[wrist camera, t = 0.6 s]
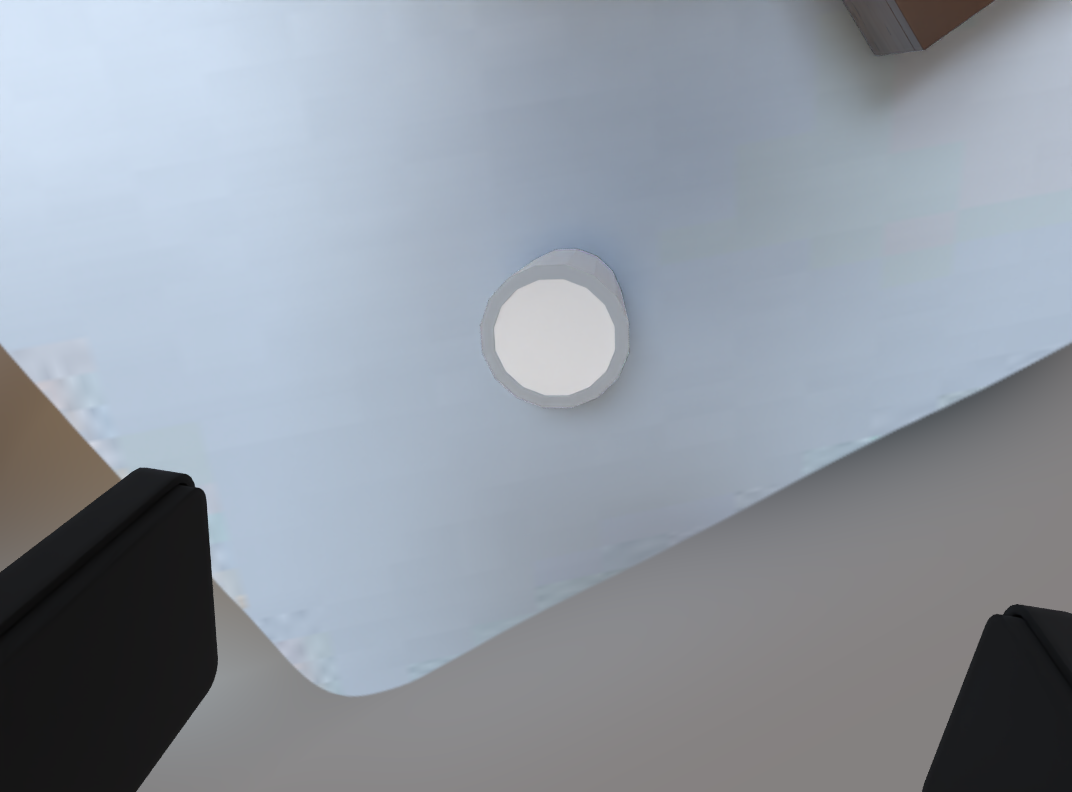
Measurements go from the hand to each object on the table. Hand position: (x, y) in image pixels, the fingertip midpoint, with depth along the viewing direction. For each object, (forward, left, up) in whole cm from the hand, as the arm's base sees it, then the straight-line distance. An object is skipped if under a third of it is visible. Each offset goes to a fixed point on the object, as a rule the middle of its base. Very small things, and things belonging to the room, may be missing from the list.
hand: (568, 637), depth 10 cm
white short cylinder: (+2, -5, -33) cm, 34 cm away
